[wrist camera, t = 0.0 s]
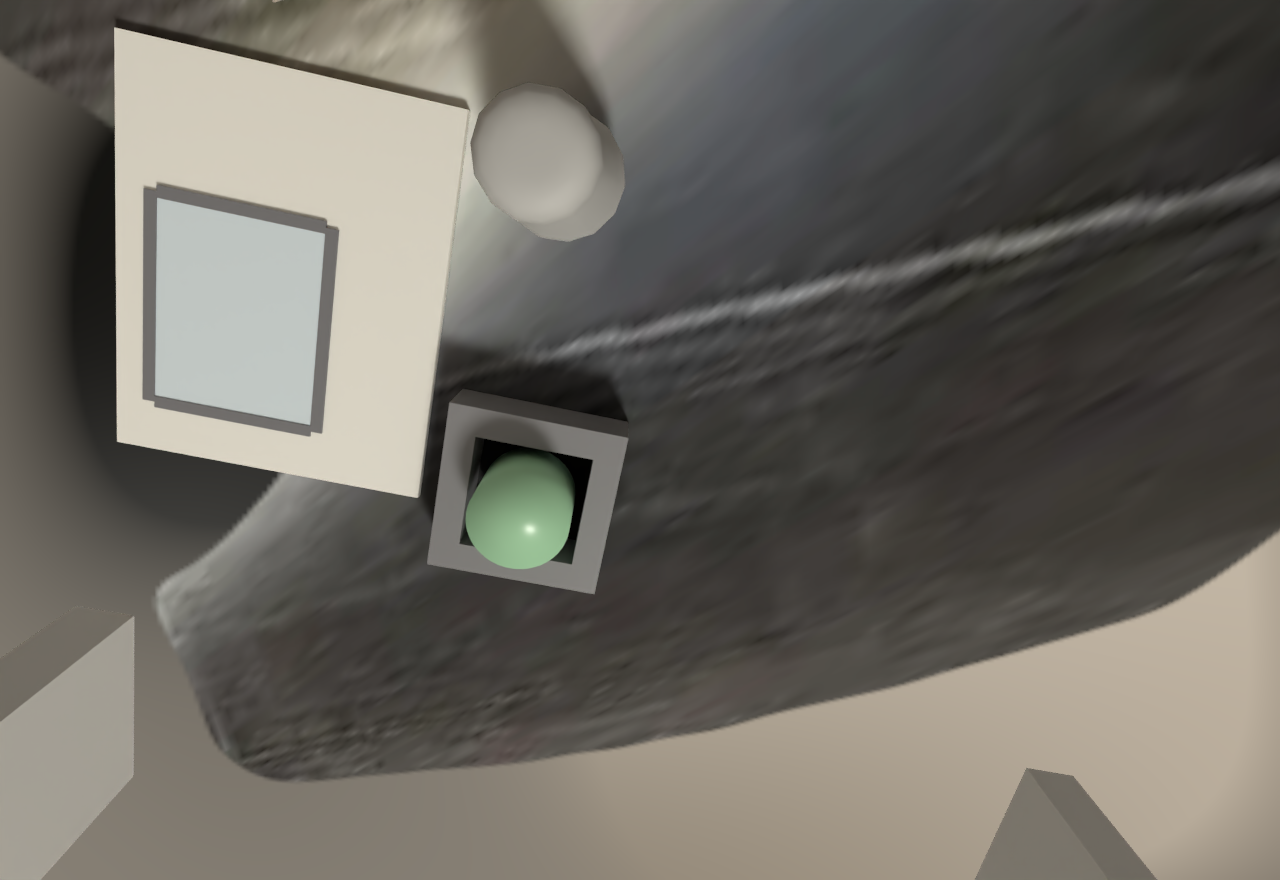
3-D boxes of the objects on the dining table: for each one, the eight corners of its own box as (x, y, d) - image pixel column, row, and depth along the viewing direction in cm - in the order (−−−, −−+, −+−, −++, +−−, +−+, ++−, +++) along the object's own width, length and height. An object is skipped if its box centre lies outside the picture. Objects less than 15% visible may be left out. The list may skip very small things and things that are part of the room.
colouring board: (122, 30, 32) (111, 26, 31) (470, 111, 33) (467, 109, 32) (123, 438, 38) (114, 442, 37) (420, 494, 39) (416, 498, 38)
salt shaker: (500, 229, 35) (430, 231, 22) (512, 104, 33) (443, 32, 21) (616, 248, 35) (610, 260, 23) (634, 126, 33) (638, 67, 21)
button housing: (463, 388, 37) (449, 402, 34) (628, 421, 38) (628, 438, 35) (441, 539, 40) (427, 563, 37) (596, 567, 40) (594, 594, 37)
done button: (489, 439, 36) (473, 464, 33) (583, 457, 37) (578, 484, 33) (475, 525, 38) (459, 559, 34) (566, 542, 38) (559, 577, 34)
